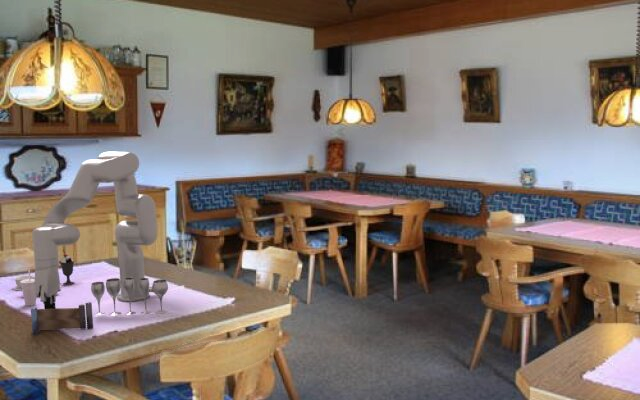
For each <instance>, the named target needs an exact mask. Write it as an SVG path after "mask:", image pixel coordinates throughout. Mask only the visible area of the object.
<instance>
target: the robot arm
mask: <svg viewBox="0 0 640 400" xmlns="http://www.w3.org/2000/svg"><path fill="white" fill-rule="evenodd" d="M139 166H140V160H139V157H138V155H136V154H135V153H133V152H131V151H130V152H129V151H105V152H104V151H103V152H102V153H100V154H99V155H98V157H97V159H87V160H85V161H83V162H82V163H81V165H80V166H79V169H78V170H77V173H76V175H75V178H74V180H73V181H72V184H71V186H70V188H69V190H68V192H67V194H66V195H65V196H64V197H62V198H61V199H60V200H59V201H57V202H56V204H54V205H53V206H52V207H51V208H50V209H49V211H48V212H47V213H46V216H45V218H44V220H43V223H42V224H41V227H36V228H34V229H32V245H33V258H34V269H35V270H34V277H35V296H36V298H39V299H40V302H41V303H42V304H43V307H44V308H43V309H55V308H56V297H57V295H58V291H59V290H61V280H60V272H59V264H60V263H59V255H58V247H62V246H70V245H73V244H76V243H77V242H78V241H79V239H80V236H81V233H80V229H79V228H78V226H76V225H74V224H71V223H64V221H65V220H66V219H67V218H68V217H69V216H70V215H72V214H73V213H75V212H77V211H79V210H82V209H83V208H85V207H87V206H89V205H90V204H91V203H92V200H93V199H94V196H95V194H96V191H97V189H98V187H99V185H100V184H103V183H104V184H111V183H113V185H114V186H113V187H114V196H115V197H114V198H115V206H116V211H117V214H118V215H119V216H121V217H125V218H132V219H125V220H121V221H119V222H118V223H117V225H116V226H115V228H114V237H115V242H116V245H117V252H118V264H119V268H118V269H119V279H120V283H121V288H120V292H119V294H118V295H117V297H116V300H118V301H121V302H129V298H128V296H127V294H126V292H125V290H124V279H125V278H133V280H134V290H133V293H132V296H131V302H137V301H142V300H144V296H143V294H142V292H141V290H140V279H142V278H146V276H145V262H144V261H145V260H144V259H145V258H144V252H143V251H144V250H143V249H142V246H146V247H147V246H151V245H153V244H154V243H155V242H156V241H157V238H158V221H157V220H158V219H157V207H156V203H155V200H154V199H153V198H152V196H150V195H148V194H145V193H139V192H138V185H137V179H136V177H135V174H136V172H137V171H138V170H139V168H140V167H139ZM134 219H137V220H134ZM59 292H60V291H59ZM150 293H154V292H153V290H152V286H149V291H148V293H147V297H146V299H148V298H149V297H150Z"/></svg>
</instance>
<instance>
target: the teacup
mask: <svg viewBox="0 0 640 400" xmlns="http://www.w3.org/2000/svg"><path fill="white" fill-rule="evenodd" d="M30 277H31V279H34V277H35V275H30ZM26 279H29V275H21V276H17V277H15V278H14V281H15V284H16V286H13V287H12V290H13V291H22V287H21V285H20V281H21V280H26Z"/></svg>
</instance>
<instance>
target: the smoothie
mask: <svg viewBox="0 0 640 400" xmlns="http://www.w3.org/2000/svg"><path fill="white" fill-rule="evenodd" d="M27 271H28V276H29V279H26V280H22V281H20V285H21V287H22V290H21V291H22V295H23V299H24V305H25V307H33V306H36V305H37V297H36V296H35V279H31V277H30V276H31V270H30V269H28V270H27ZM35 304H36V305H35Z"/></svg>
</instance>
